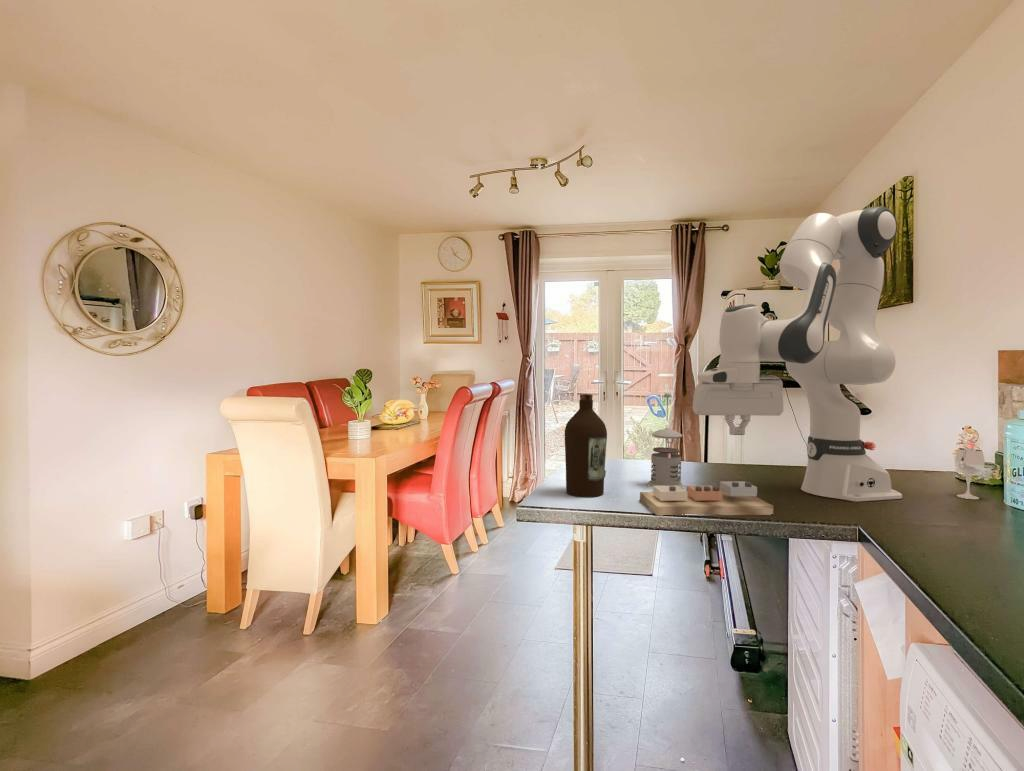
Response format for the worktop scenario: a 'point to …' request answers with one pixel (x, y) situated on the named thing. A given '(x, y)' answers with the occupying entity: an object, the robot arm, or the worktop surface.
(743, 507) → the button board
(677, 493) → the tile one
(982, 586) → the worktop surface
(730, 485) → the tile two
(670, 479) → the french press
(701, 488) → the tile three
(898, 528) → the worktop surface
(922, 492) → the worktop surface
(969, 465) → the wineglass
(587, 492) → the olive oil
